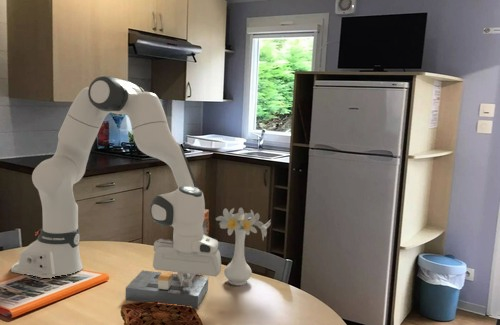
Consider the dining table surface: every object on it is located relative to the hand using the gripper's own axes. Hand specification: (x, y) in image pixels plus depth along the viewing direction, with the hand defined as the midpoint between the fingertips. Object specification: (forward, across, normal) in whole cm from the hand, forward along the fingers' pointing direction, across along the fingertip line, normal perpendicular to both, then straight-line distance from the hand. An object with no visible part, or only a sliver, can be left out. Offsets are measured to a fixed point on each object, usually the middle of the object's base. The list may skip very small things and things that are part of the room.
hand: (186, 286), depth 140 cm
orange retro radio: (+5, -3, +24) cm, 24 cm away
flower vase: (+5, +14, +20) cm, 24 cm away
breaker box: (+5, -6, +4) cm, 9 cm away
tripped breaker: (+1, -6, 0) cm, 6 cm away
